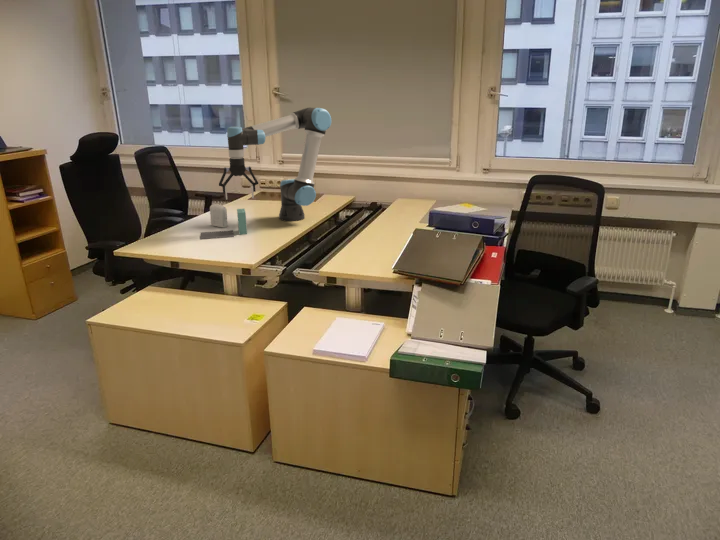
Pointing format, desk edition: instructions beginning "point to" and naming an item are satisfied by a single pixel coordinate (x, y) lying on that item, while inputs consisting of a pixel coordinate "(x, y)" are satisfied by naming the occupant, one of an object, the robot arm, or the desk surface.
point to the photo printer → (218, 215)
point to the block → (242, 221)
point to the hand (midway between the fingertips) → (239, 198)
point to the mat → (216, 234)
